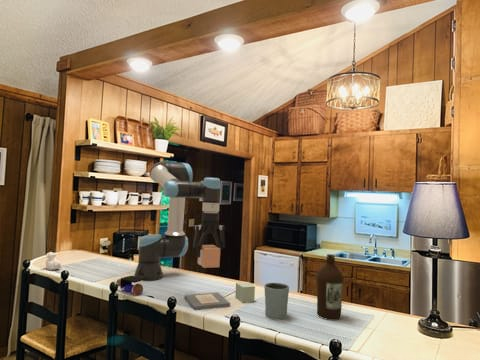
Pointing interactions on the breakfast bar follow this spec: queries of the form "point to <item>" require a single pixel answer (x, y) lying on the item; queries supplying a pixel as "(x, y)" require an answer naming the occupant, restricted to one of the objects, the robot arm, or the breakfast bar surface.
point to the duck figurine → (52, 262)
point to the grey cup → (276, 300)
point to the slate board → (206, 301)
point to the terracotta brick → (210, 256)
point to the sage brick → (245, 292)
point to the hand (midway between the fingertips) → (208, 264)
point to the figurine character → (127, 284)
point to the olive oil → (329, 290)
